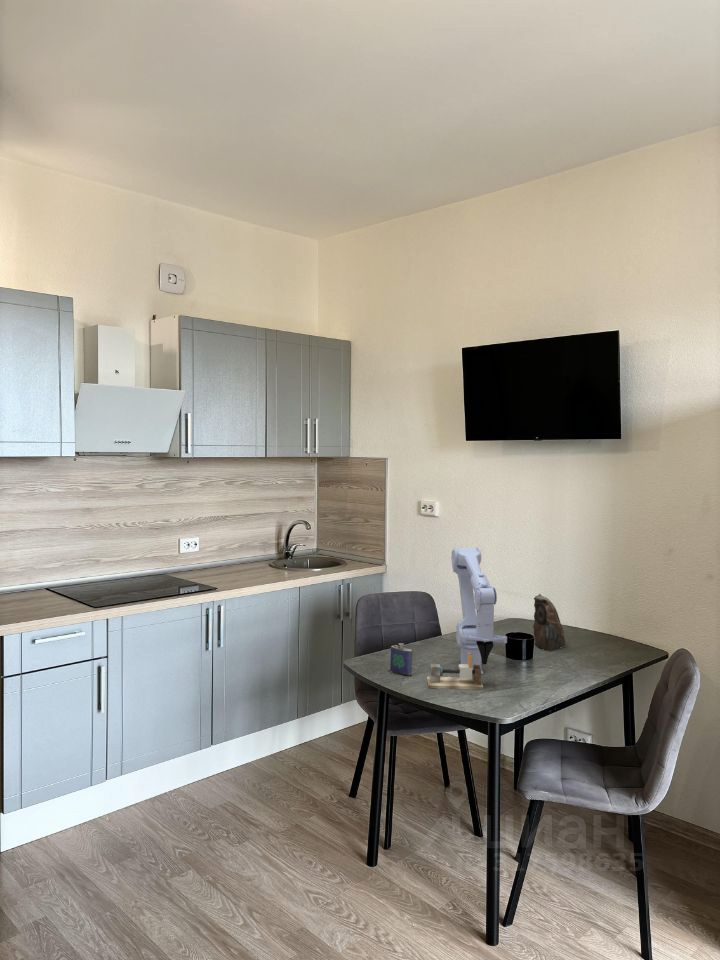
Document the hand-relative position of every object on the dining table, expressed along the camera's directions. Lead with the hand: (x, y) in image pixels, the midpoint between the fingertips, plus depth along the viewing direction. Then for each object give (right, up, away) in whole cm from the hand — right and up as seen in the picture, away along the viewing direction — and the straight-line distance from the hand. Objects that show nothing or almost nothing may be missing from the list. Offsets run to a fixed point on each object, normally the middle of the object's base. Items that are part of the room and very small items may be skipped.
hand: (484, 663), depth 245 cm
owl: (+34, -6, +48) cm, 59 cm away
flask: (-27, -7, +13) cm, 31 cm away
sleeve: (-6, -5, 0) cm, 8 cm away
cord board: (-10, -7, +1) cm, 12 cm away
